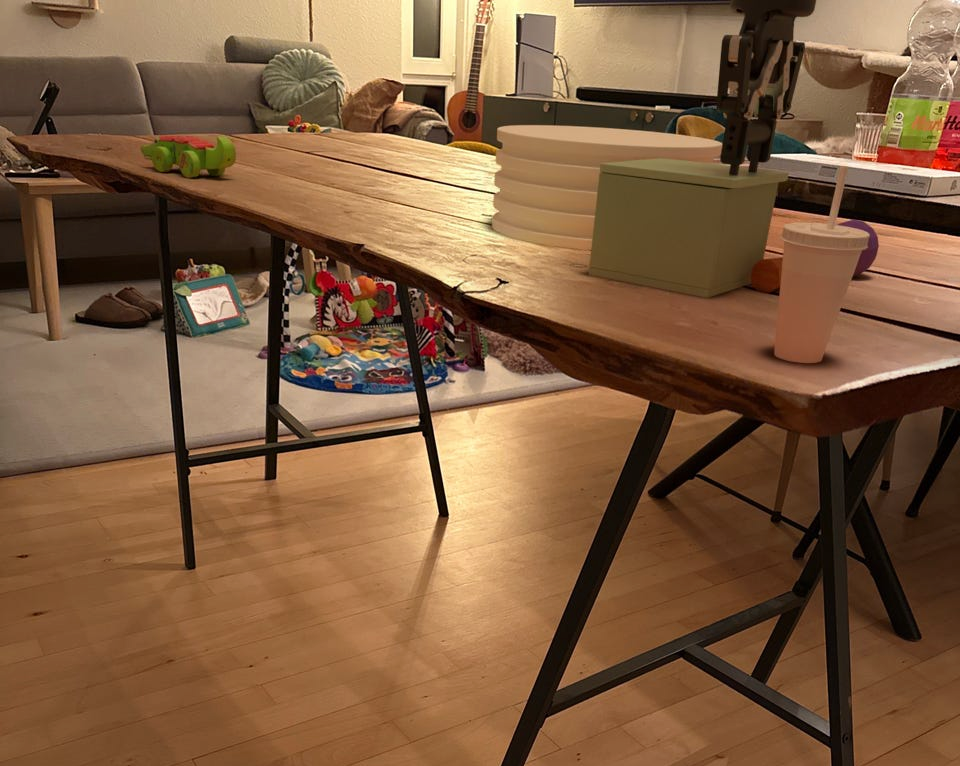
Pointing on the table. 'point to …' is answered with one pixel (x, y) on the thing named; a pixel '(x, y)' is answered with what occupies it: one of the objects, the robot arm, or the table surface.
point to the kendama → (770, 270)
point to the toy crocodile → (190, 155)
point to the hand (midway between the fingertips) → (745, 162)
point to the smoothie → (815, 281)
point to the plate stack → (571, 176)
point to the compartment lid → (705, 167)
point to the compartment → (679, 233)
